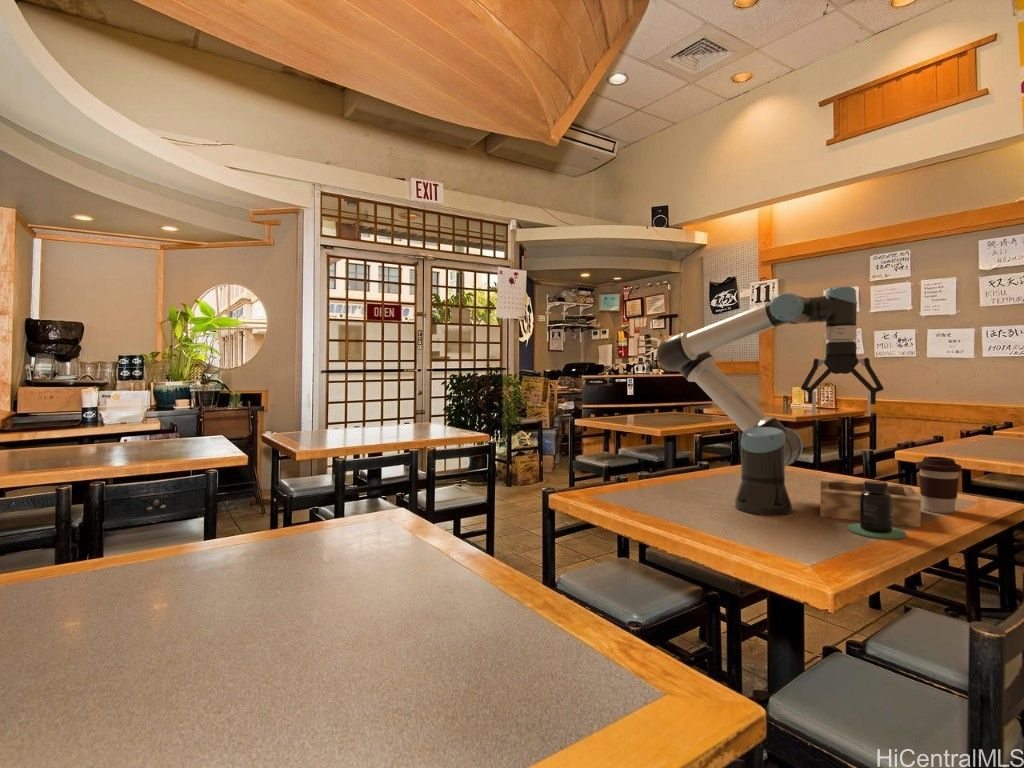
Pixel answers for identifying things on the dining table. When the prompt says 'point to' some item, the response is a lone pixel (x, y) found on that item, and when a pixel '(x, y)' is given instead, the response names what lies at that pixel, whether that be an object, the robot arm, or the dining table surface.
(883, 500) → the supplement bottle
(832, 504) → the cover box
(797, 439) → the robot arm
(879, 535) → the mat
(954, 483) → the coffee cup
